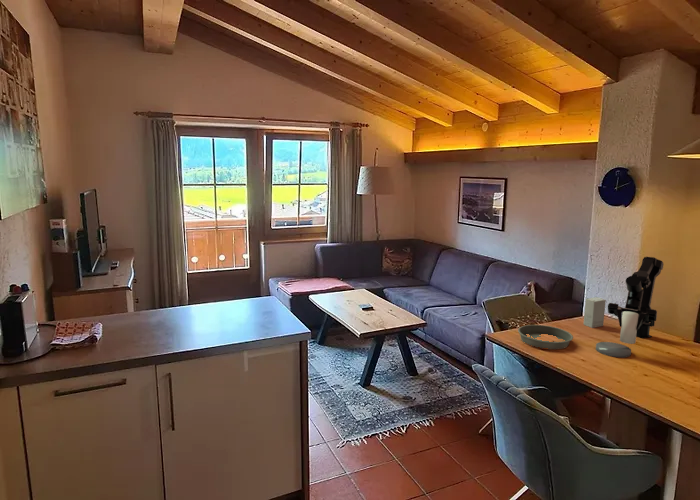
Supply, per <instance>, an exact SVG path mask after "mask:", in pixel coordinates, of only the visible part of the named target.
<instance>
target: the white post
mask: <svg viewBox="0 0 700 500" xmlns="http://www.w3.org/2000/svg"><path fill="white" fill-rule="evenodd" d="M638 315H639V314H638V313H635V312H630V311H624V312H623V314H622V324H621V327H620V336H619V342H621V343H624V344H628V345H630V344H631V345H633V344H636V340H637V336H636V333H637V330H636V328H637V324H638Z"/></svg>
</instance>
